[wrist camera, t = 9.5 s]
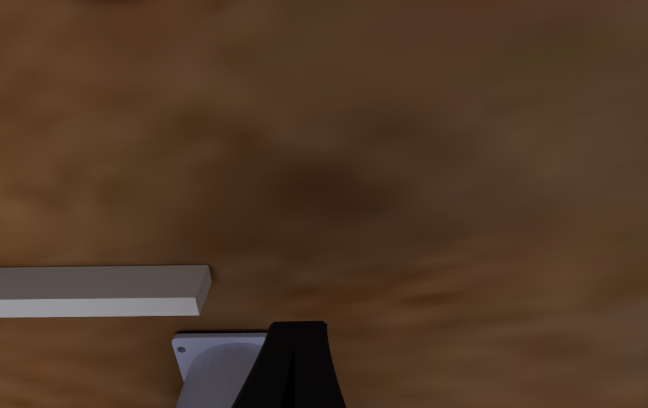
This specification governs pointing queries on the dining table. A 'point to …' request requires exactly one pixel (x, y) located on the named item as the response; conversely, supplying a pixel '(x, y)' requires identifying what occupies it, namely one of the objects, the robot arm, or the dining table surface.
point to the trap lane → (103, 291)
